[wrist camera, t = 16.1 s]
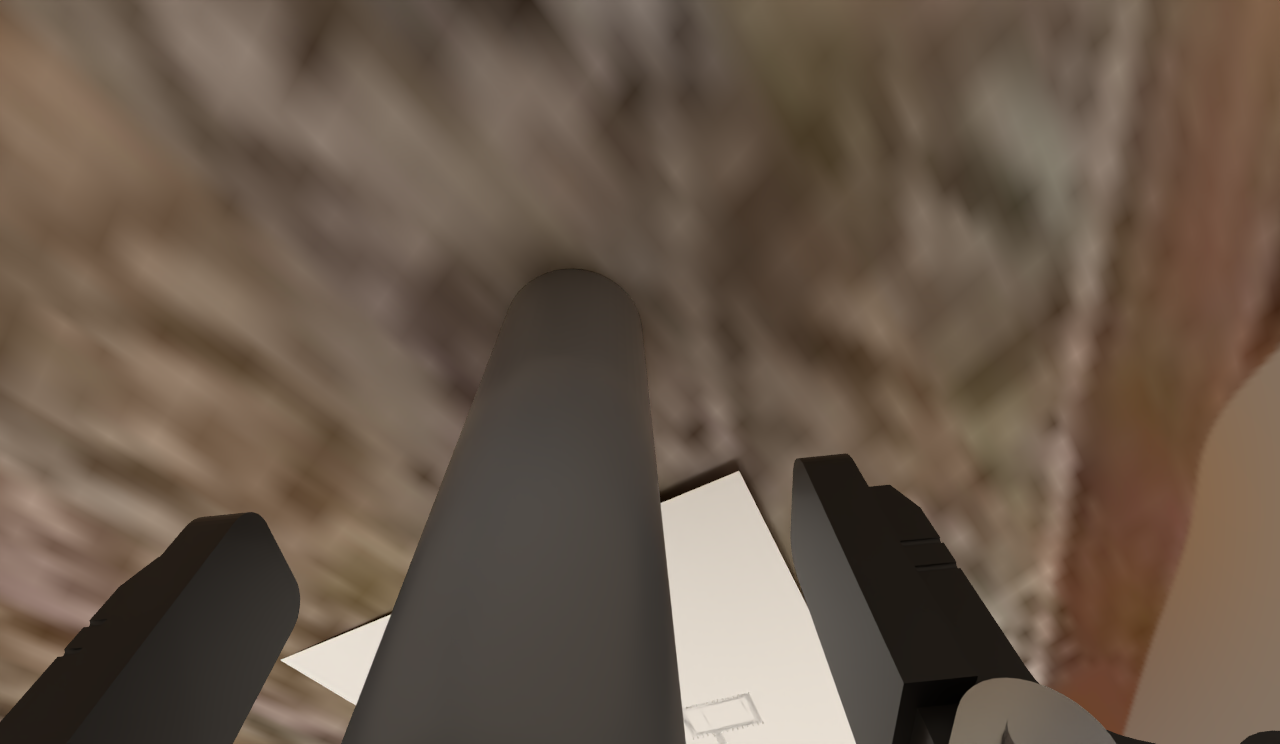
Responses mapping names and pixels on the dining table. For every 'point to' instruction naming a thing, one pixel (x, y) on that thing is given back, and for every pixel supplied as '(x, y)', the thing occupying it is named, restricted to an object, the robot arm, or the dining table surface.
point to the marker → (540, 549)
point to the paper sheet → (699, 631)
